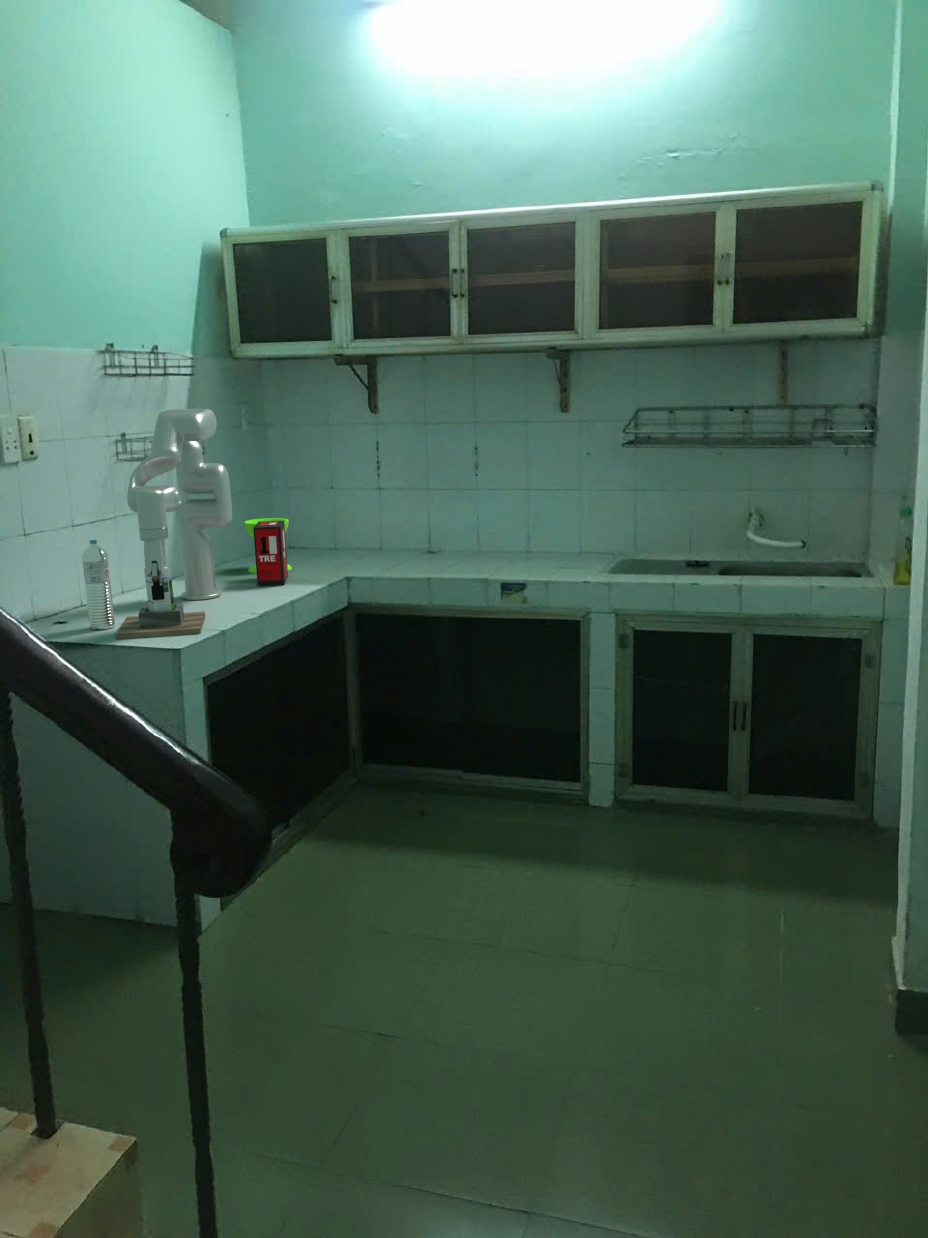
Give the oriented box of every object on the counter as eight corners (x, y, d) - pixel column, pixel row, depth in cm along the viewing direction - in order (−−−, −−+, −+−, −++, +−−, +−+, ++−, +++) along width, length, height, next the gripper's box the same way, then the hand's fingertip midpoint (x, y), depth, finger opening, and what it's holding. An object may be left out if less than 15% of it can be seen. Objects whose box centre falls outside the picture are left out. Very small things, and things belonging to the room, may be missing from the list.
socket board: (127, 621, 292) (125, 602, 291) (205, 616, 296) (203, 598, 295) (116, 639, 271) (114, 619, 270) (200, 633, 275) (198, 613, 274)
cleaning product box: (284, 585, 340) (280, 526, 335) (257, 586, 339) (253, 527, 335) (288, 576, 356) (284, 520, 351) (262, 577, 355) (258, 521, 351)
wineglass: (299, 566, 376) (296, 518, 372) (280, 573, 362) (276, 524, 357) (260, 565, 381) (257, 517, 377) (240, 572, 366) (236, 523, 362)
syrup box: (156, 621, 279) (150, 569, 276) (148, 617, 284) (143, 566, 280) (176, 617, 282) (171, 566, 279) (168, 614, 287) (163, 564, 284)
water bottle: (99, 624, 289) (90, 538, 284) (120, 625, 287) (111, 538, 282) (84, 629, 283) (74, 541, 277) (105, 630, 281) (95, 542, 275)
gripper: (143, 530, 285) (149, 591, 289) (135, 539, 269) (142, 604, 273) (170, 529, 287) (176, 589, 291) (164, 537, 270) (171, 602, 274)
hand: (160, 596), depth 282 cm, fingers closed on syrup box, 7 cm apart
